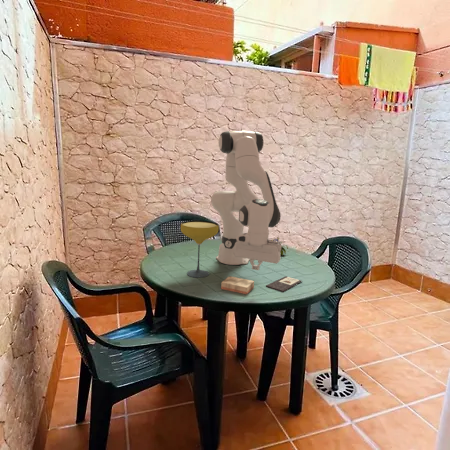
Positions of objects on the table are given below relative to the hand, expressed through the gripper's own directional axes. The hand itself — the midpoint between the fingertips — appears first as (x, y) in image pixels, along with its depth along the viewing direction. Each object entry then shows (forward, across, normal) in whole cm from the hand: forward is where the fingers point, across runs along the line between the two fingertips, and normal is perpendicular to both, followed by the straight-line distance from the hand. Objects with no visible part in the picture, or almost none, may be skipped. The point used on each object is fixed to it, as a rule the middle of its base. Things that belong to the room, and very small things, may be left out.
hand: (255, 269), depth 147 cm
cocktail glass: (+10, +32, -7) cm, 34 cm away
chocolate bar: (+11, -10, -16) cm, 21 cm away
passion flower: (+10, +8, -65) cm, 66 cm away
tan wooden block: (+9, +2, 0) cm, 9 cm away
